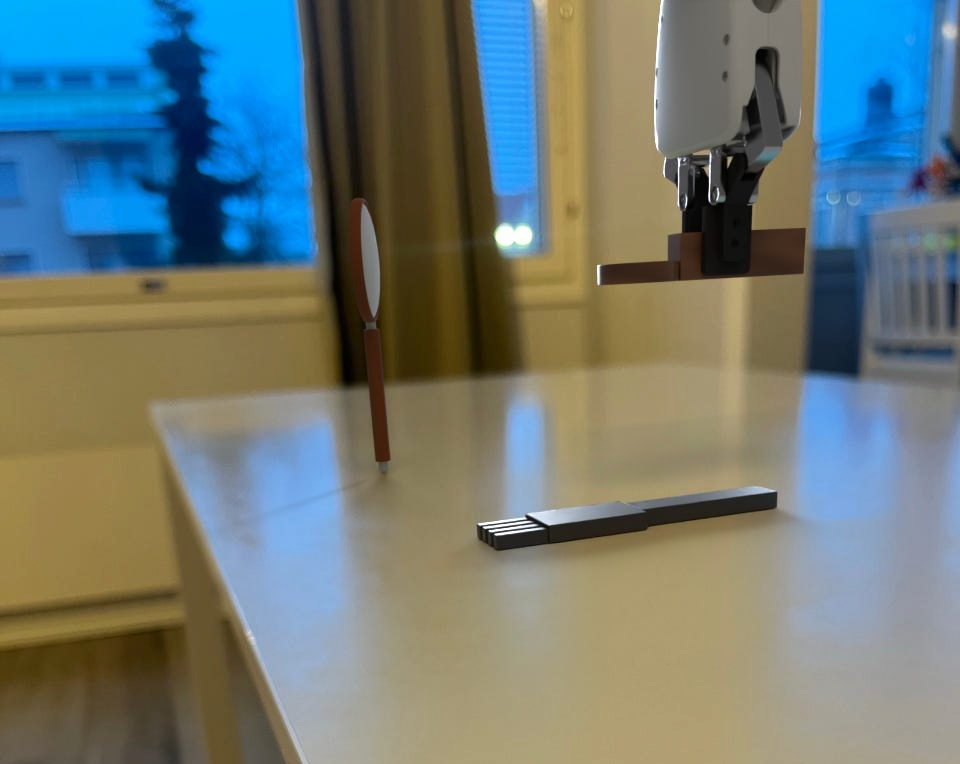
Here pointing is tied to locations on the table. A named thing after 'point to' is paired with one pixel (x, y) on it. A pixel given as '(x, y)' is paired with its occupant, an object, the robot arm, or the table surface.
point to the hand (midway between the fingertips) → (715, 273)
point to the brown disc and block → (684, 255)
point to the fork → (620, 517)
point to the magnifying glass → (369, 318)
